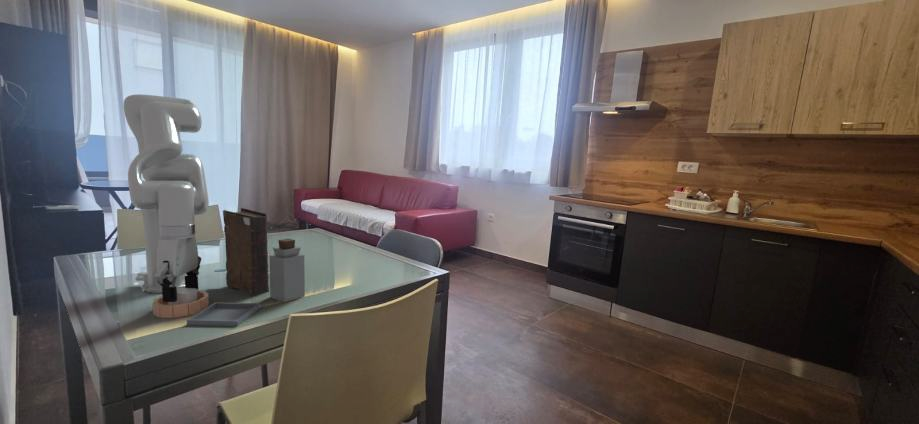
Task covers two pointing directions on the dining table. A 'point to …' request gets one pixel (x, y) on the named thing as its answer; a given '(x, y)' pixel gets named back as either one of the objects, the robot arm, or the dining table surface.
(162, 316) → the terracotta bowl
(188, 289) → the white cube
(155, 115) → the robot arm
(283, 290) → the perfume bottle
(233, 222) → the book
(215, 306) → the tray
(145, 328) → the dining table surface
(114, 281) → the dining table surface
